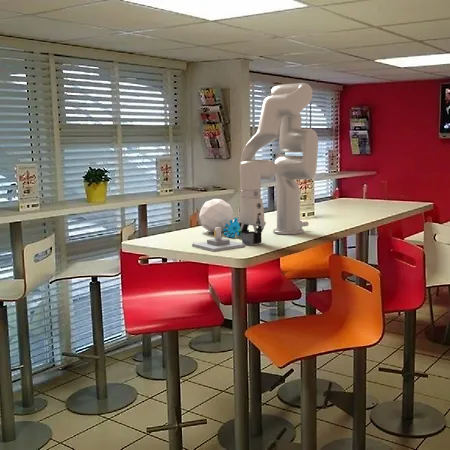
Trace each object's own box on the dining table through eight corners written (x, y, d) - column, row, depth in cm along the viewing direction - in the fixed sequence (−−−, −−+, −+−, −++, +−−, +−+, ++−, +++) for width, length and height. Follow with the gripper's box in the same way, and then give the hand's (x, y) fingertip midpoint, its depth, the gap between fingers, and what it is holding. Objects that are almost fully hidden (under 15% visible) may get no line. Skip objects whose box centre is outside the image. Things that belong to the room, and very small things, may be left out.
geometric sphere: (223, 245, 250) (227, 219, 239) (191, 231, 253) (194, 206, 243) (237, 224, 259) (241, 199, 249) (206, 212, 263) (209, 186, 252)
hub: (253, 241, 227) (252, 230, 227) (264, 243, 222) (264, 232, 221) (238, 243, 223) (238, 232, 223) (249, 245, 218) (249, 234, 217)
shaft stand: (223, 241, 227) (222, 223, 226) (245, 246, 216) (244, 227, 215) (192, 246, 219) (191, 227, 218) (213, 251, 208) (212, 231, 207)
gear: (217, 232, 239) (231, 214, 242) (224, 241, 243) (238, 222, 246) (236, 239, 231) (251, 220, 234) (243, 248, 235) (257, 229, 238)
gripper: (273, 195, 215) (274, 243, 217) (244, 192, 229) (245, 237, 232) (257, 196, 211) (257, 246, 213) (228, 193, 225) (229, 240, 227)
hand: (251, 241), depth 222 cm, fingers closed on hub, 6 cm apart
